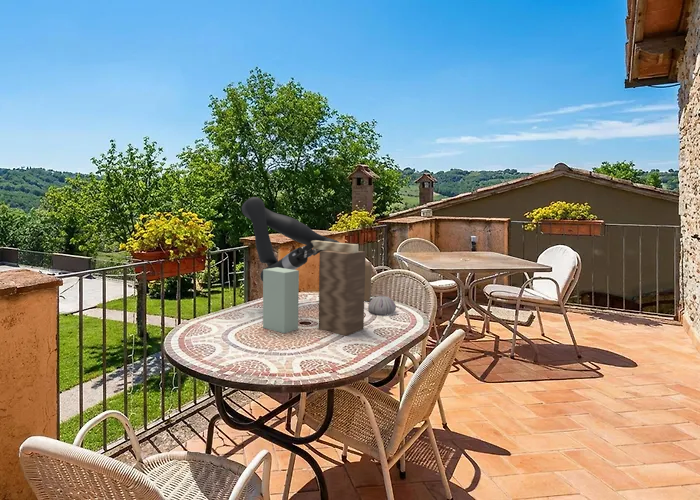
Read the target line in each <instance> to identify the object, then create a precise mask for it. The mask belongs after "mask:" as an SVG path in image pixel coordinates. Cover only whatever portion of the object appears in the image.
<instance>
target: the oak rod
mask: <svg viewBox="0 0 700 500" xmlns="http://www.w3.org/2000/svg"><path fill="white" fill-rule="evenodd" d="M338 242H339V241H338ZM338 242H327V241H317V240H315V241H311V243H313V246H314V247H313V248H312V250H313V249H320V250H329V251H338V252H347V253H358V251H359V244H358V243H346V242H340V243H338Z"/></svg>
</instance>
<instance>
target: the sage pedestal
mask: <svg viewBox="0 0 700 500" xmlns="http://www.w3.org/2000/svg"><path fill="white" fill-rule="evenodd" d="M262 271H263V281H262V328H263V329H266V330H270V331H273V332H274V331H275V332H277V333H281V334H287V333H289V332H293V331H296V330H299V286H300V285H299V283H300V281H299V278H300V271H299V270H298V269H295V270H292V269H285V268H279V267H276V268H269V269H265V268H263V269H262Z"/></svg>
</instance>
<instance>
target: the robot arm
mask: <svg viewBox="0 0 700 500" xmlns="http://www.w3.org/2000/svg"><path fill="white" fill-rule="evenodd" d="M241 212H242V214H243V216H245V218H247V219H249V220H250V221H251V224H252V227H253V231H254V239H255V247H256V252H257V254H258V259H259V261H260V263H261V264H266V265H267V267H265V268H264V269H269V268H276V267H279V268H285V269H292V270H298V269H299V268H300V267H302V266H303V265H305V264H306V263H307V262H308V258H310V257H312V256H316V255H318V254H320V251H325V250H320V249H312V248H313V247H314V246H313V243H311V241H315V240H317V241H327V242H338V243H341V242H340V241H338V240H336V239H333V238H330V237H326V236H324V235H323V234H322V235H321V234H320V233H317V232H315V231H314V230H313V229H312V228H310V227H309V226H308V225H306V224H304V223H303V222H302V221H299V220H297V219H296V218H293V217H291V216H288V215H285V214H282V213H281V214H280V213H276V212H274V211H272V210H270V209H268V208H266V207H265V202H264V200H262V199H261V198H259V197H257V196H252V197H250V198H248V199H246V201H244V203H242V206H241ZM268 228H269V229H271V230H273V231H275V232H277V233H279V234H281V235H282V236H284V237H287V238H289V240H290V239H291V240H292V241H295V242H297V243H299V244H302V246H299V247H296V248H295V249H293V250H292V251H290V252H289V253H287V254H286V255H284V257H282V258H281V259H279V260H278V259H277V257H276V255H275V252H274V249H273V245H272V242H271V238H270V233H269V229H268ZM260 272H261V273H260V280H261V281H262V282H263V270H261V271H260Z"/></svg>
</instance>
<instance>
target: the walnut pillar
mask: <svg viewBox="0 0 700 500" xmlns="http://www.w3.org/2000/svg"><path fill="white" fill-rule="evenodd" d="M366 254H367V253H366V251H362V250H358V253H347V252H338V251H329V250H325V251H320V253H319V267H318V269H319V272H318V274H319V276H318V277H319V278H318V279H319V282H318V284H319V286H318V289H319V290H318V328H317V329H318V330H319V331H324V332H327V333H333V334H336V335H341V336H344V337H348V336H350V335H353V334H355V333H357V332H360V331H363V330H364V324H365V323H364V322H365V320H364V319H365V302H364V294H365V262H366Z"/></svg>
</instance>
